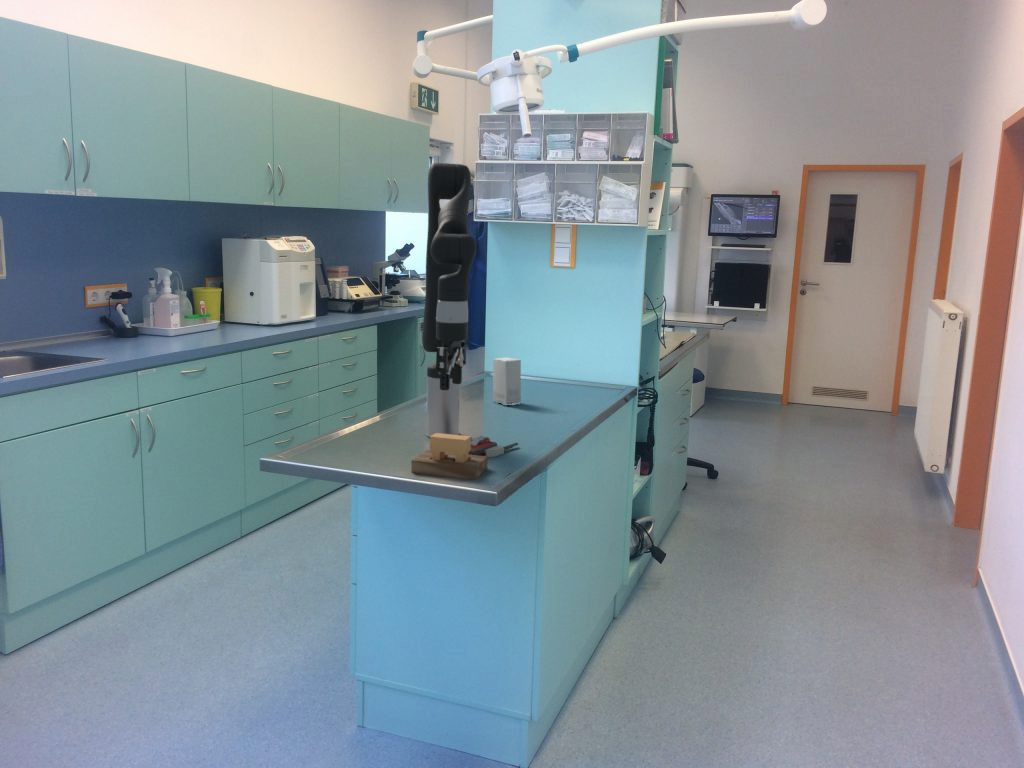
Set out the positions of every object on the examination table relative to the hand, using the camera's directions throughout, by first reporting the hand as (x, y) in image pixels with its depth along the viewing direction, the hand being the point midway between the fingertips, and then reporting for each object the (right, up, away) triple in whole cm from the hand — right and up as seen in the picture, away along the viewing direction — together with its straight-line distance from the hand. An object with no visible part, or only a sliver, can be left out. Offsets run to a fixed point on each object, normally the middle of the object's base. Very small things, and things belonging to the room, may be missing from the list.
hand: (451, 386), depth 195 cm
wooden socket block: (0, -20, +2) cm, 21 cm away
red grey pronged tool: (+8, -18, +20) cm, 28 cm away
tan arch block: (0, -20, +2) cm, 21 cm away
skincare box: (+13, -6, +84) cm, 85 cm away
